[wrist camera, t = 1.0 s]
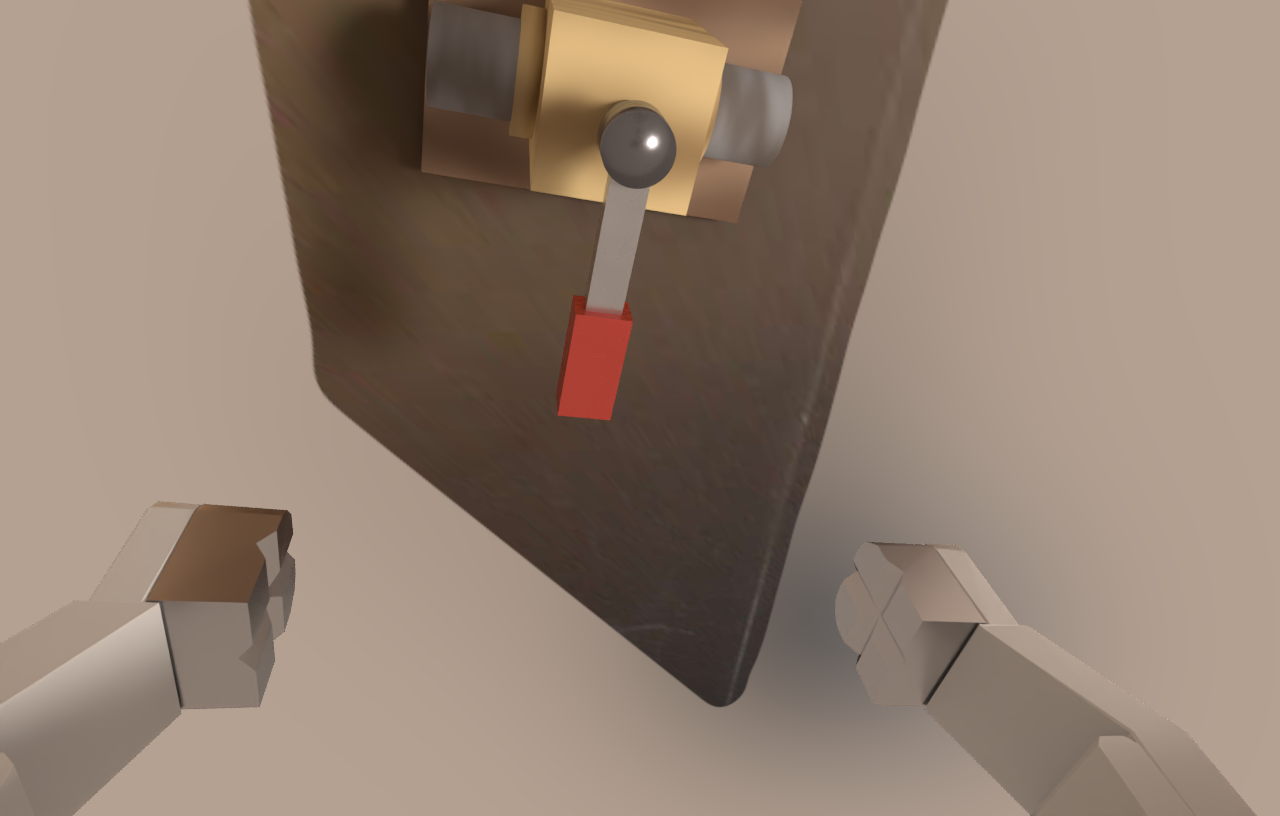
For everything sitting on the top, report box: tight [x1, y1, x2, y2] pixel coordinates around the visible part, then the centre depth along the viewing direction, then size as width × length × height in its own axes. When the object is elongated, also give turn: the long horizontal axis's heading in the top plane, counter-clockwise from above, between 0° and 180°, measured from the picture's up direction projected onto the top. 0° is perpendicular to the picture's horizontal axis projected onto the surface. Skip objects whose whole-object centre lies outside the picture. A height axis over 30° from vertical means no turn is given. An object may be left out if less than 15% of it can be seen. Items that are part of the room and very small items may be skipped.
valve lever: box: [556, 100, 677, 420], centre depth 35 cm, size 16×3×2 cm, turn 168°
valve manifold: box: [421, 0, 803, 223], centre depth 38 cm, size 14×20×13 cm
